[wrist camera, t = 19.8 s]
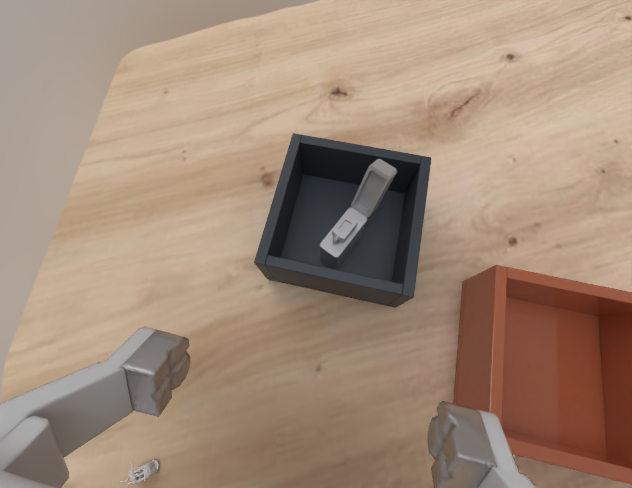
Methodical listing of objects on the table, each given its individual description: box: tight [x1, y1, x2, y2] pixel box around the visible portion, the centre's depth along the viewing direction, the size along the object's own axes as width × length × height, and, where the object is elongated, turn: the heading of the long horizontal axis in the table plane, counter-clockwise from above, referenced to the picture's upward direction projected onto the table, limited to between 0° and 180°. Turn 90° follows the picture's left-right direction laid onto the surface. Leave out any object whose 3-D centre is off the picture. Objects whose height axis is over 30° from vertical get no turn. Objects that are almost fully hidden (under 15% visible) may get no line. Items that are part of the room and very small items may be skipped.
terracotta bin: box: [454, 265, 632, 484], centre depth 23 cm, size 12×12×6 cm
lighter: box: [320, 159, 397, 270], centre depth 25 cm, size 7×2×8 cm, turn 142°
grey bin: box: [254, 133, 431, 307], centre depth 27 cm, size 12×12×6 cm
